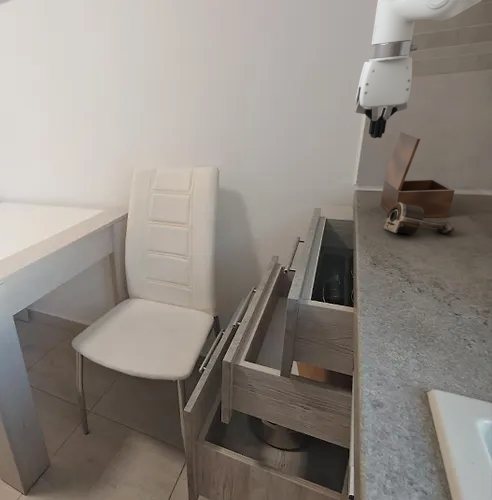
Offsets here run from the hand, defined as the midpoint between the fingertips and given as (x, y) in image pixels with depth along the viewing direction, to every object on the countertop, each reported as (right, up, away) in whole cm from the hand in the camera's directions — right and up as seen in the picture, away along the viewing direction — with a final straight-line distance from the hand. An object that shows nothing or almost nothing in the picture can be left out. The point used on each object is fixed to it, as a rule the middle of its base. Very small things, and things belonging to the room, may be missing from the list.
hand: (375, 136), depth 90 cm
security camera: (+4, -24, -8) cm, 26 cm away
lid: (+7, -6, +1) cm, 9 cm away
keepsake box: (+12, -18, +5) cm, 22 cm away
